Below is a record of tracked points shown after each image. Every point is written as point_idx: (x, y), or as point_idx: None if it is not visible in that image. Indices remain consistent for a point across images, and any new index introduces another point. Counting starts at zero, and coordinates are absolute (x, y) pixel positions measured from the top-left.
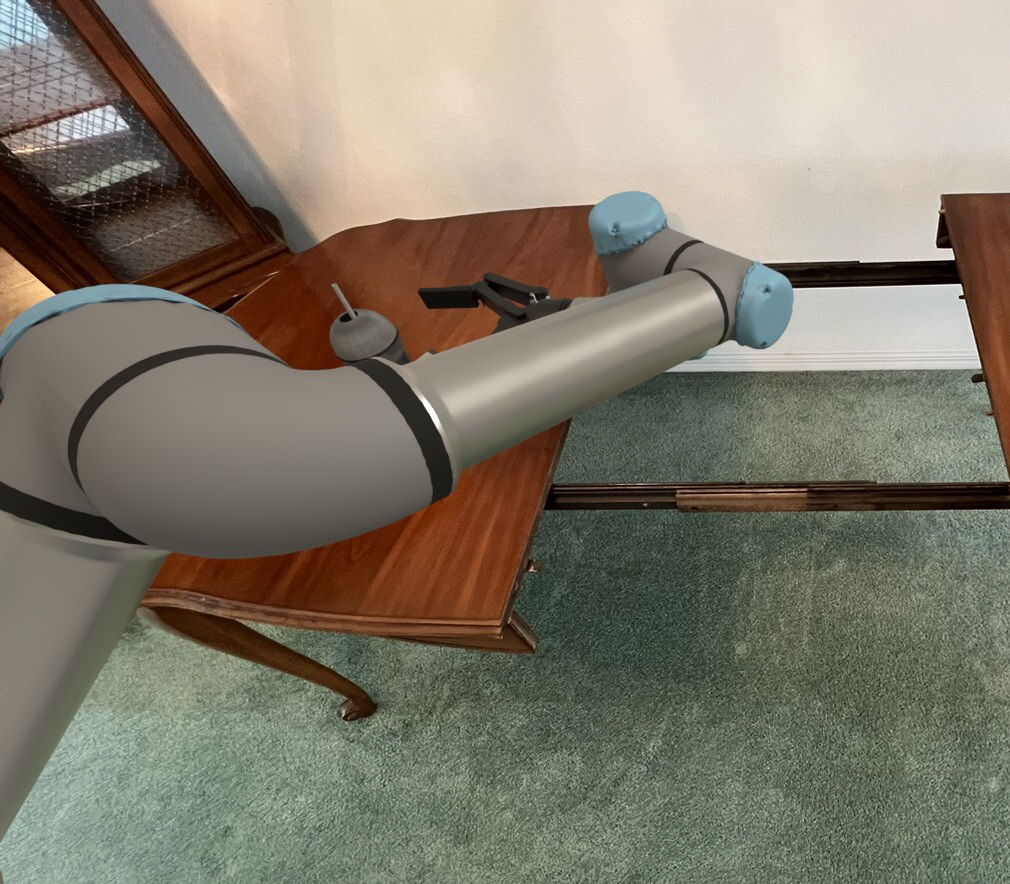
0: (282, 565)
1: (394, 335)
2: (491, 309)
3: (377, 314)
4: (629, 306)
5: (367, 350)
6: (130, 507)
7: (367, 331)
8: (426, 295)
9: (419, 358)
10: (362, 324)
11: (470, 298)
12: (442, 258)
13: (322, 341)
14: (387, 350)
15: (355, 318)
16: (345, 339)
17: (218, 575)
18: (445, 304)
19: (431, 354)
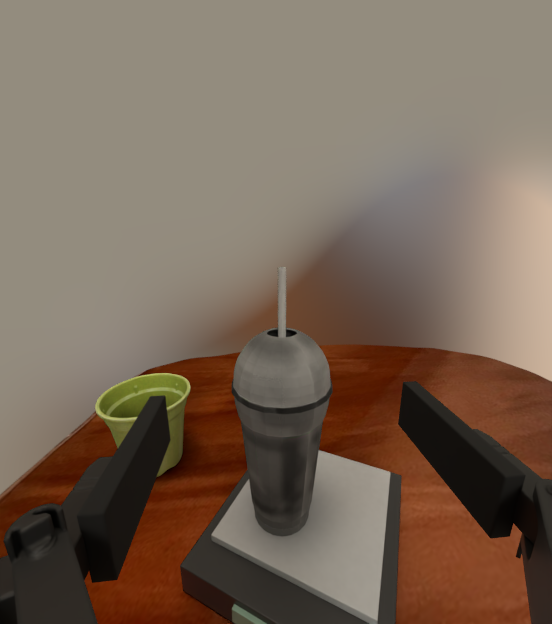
0: (70, 476)
1: (297, 404)
2: (530, 611)
3: (313, 359)
4: None
5: (243, 385)
6: None
7: (265, 362)
8: (410, 400)
9: (373, 468)
10: (271, 349)
11: (491, 499)
12: (540, 418)
13: (364, 386)
14: (262, 411)
15: (278, 337)
16: (244, 351)
17: (92, 433)
18: (427, 446)
19: (388, 480)
